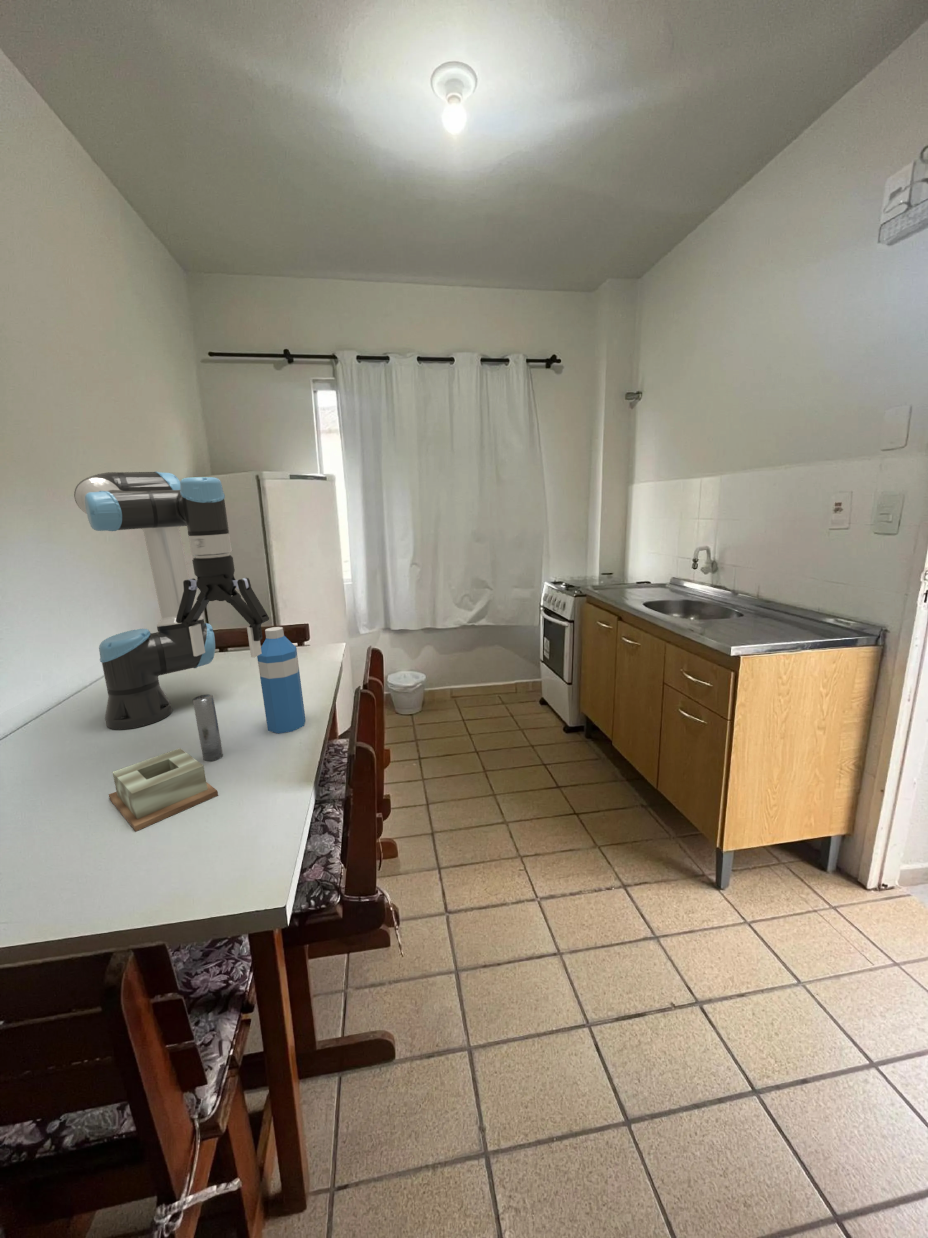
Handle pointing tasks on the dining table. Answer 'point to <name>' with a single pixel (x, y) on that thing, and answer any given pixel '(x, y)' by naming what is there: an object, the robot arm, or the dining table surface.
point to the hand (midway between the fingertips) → (227, 655)
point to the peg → (208, 727)
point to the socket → (160, 788)
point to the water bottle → (281, 683)
